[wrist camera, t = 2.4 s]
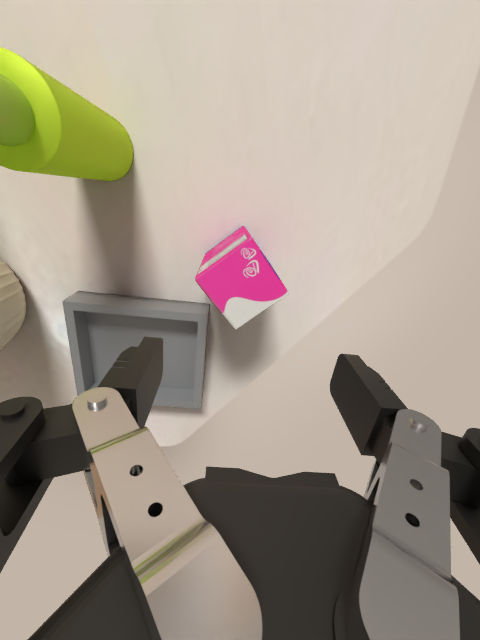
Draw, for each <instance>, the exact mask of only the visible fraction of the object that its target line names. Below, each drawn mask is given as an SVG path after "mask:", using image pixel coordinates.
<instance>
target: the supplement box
mask: <svg viewBox="0 0 480 640" xmlns="http://www.w3.org/2000/svg"><path fill="white" fill-rule="evenodd" d="M195 280H196V282H197V283H198V285H199V286H200V287H201V288H202V290H203V291H204V292H205V294H206V295H207V296H208V297H209V299H210V300H211V301H212V302H213V303H214V305H215V306H216V307H217V308H218V310H219V311H220V312H221V313H222V314H223V316H224V317H225V318H226V319H227V321H228V322H229V323H230V324H231V325H232V327H233V328H234V329H235V330H236V329H238V328H239V327H241V326H242V325H244V324H245V323H247V322H248V321H249V320H251V319H252V318H254V317H255V316H257V315H258V314H260V313H261V312H263V311H264V310H266V309H267V308H268V307H270V306H271V305H273V304H275V303H276V302H278V301H279V300H281V299H282V298H284V297H285V296H287V295H288V294H289V293H288V291H287V289H286V288H285V286H284V285H283V283H282V281H281V280H280V278H279V277H278V275H277V274H276V272H275V271H274V269H273V267H272V266H271V264H270V263H269V262H268V260H267V259H266V257H265V256H264V254H263V253H262V251H261V250H260V248H259V247H258V245H257V244H256V243H255V241H254V240H253V238H252V237H251V236H250V234H249V233H248V231H247V230H246V228H245V227H244V226H242V227H241V228H239V229H238V230H237V231H235V232H234V233H233V234H231V235H230V236H228V237H227V238H226V239H224V240H223V241H222V242H220V243H219V244H218V245H216V246H215V247H214V248H212V249H211V250H210V251H208V252H207V253H206V254H205V256H204V259H203V261H202V263H201V266H200V268H199V271H198V273H197V275H196V277H195Z"/></svg>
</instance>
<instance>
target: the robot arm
mask: <svg viewBox="0 0 480 640" xmlns="http://www.w3.org/2000/svg"><path fill="white" fill-rule="evenodd" d="M162 375H163V338H159V337H148V336H145V337H144V338H143V340H142V341H141V343H140V345H139V346H138V347H133V346H131V347H129V348H127V349H126V350H124V351H123V352H121V354H120V355H119V357H118V358H117V359H116V361H115V362H114V364H113V365H112V367H111V368H110V369H109V371H108V372H107V374H106V375H105V377H104V378H103V380H102V381H101V382H100V384H99V385H98V387H97V388H94V389H90V390H88V391H85V392H83V393H82V394H80V395H79V396H78V397H77V398H76V399H75V400H74V402H73V404H70V405H66V406H59V407H52V408H46V409H43V406H42V403H41V401H40V400H39V399H37V398H34V397H18V398H13V399H10V400H7V401H4V402H2V403H0V573H1V571H2V569H3V567H4V565H5V564H6V562H7V560H8V558H9V556H10V555H11V553H12V551H13V549H14V547H15V546H16V544H17V542H18V540H19V538H20V537H21V535H22V533H23V531H24V530H25V528H26V526H27V524H28V522H29V521H30V519H31V517H32V515H33V513H34V511H35V510H36V508H37V506H38V504H39V502H40V501H41V499H42V497H43V495H44V494H45V492H46V490H47V488H48V486H49V485H50V483H51V481H52V479H53V478H54V477H57V476H62V475H66V474H70V473H75V472H79V471H84V475H85V478H86V481H87V484H88V488H89V491H90V494H91V497H92V500H93V504H94V507H95V510H96V513H97V516H98V520H99V524H100V528H101V532H102V537H103V541H104V544H105V548H106V551H107V554H108V558H107V559H106V560H105V561H104V562H103V563H102V564H101V565H100V566H99V567H98V568H97V569H96V570H95V571H94V572H93V573H92V574H91V575H90V577H88V578H87V580H85V582H83V583H82V585H81V586H80V587H79V588H78V589H77V590H76V591H75V592H74V593H73V594H72V595H71V596H70V597H69V598H68V599H67V600H66V601H65V602H64V603H63V604H62V605H61V606H60V607H59V608H58V609H57V610H56V611H55V612H54V613H53V614H52V615H51V616H50V617H49V618H48V619H47V620H46V622H44V623H43V625H42V626H41V627H40V628H39V629H38V630H37V631H36V632H35V633H34V634H33V635H32V636H31V637H30V638H29V639H28V640H480V601H479V600H478V599H477V598H476V597H475V596H474V595H473V594H472V593H471V592H469V591H468V590H467V589H466V588H465V587H464V586H463V585H461V583H460V582H458V581H457V580H456V579H455V578H454V577H453V576H452V575H451V558H450V557H451V554H450V553H451V551H450V518H451V519H452V521H453V522H454V524H455V526H456V527H457V529H458V530H459V532H460V534H461V535H462V537H463V538H464V540H465V541H466V543H467V545H468V546H469V548H470V549H471V551H472V553H473V554H474V556H475V557H476V559H477V561H478V562H479V564H480V429H477V428H470V429H468V430H467V431H466V432H465V434H464V436H463V437H462V438H461V437H458V436H454V435H451V434H447V433H444V432H441V430H440V428H439V426H438V425H437V424H436V423H435V422H434V421H433V420H432V419H430V418H429V417H427V416H426V415H424V414H422V413H420V412H417V411H414V410H410V409H408V408H406V406H405V405H404V404H403V403H402V401H401V400H400V399H399V398H398V396H397V395H396V394H395V393H394V392H393V390H391V388H390V387H389V386H388V384H387V383H385V381H384V379H383V378H382V377H381V376H380V375H379V374H378V373H377V372H376V371H374V370H373V369H371V368H370V367H367V365H366V364H365V363H364V362H363V360H362V359H361V358H360V357H359V356H358V355H351V354H340V355H339V357H338V359H337V362H336V366H335V369H334V372H333V375H332V379H331V382H330V392H331V395H332V397H333V399H334V401H335V403H336V405H337V407H338V409H339V411H340V413H341V415H342V417H343V419H344V421H345V423H346V425H347V427H348V429H349V431H350V433H351V435H352V437H353V439H354V441H355V443H356V445H357V447H358V449H359V451H360V453H361V455H368V456H375V458H376V461H375V463H374V465H373V468H372V471H371V475H370V478H369V481H368V484H367V488H366V491H365V494H364V497H362V496H361V495H359V494H357V493H356V492H354V491H352V490H350V489H347V488H345V487H343V486H339V484H338V481H337V479H336V476H335V474H334V473H333V474H332V473H314V472H301V473H297V474H292V475H287V476H282V477H278V478H269V477H266V476H263V475H259V474H255V473H252V472H249V471H246V470H242V469H239V468H220V467H206V476H205V478H202V479H198V480H195V481H192V482H190V483H187V484H185V485H182V483H181V481H180V480H179V478H178V476H177V475H176V473H175V471H174V470H173V468H172V467H171V465H170V463H169V462H168V460H167V458H166V457H165V455H164V454H163V452H162V450H161V449H160V447H159V445H158V444H157V442H156V440H155V439H154V437H153V435H152V434H151V432H150V431H149V429H148V428H147V427H144V426H145V423H146V420H147V418H148V415H149V412H150V410H151V407H152V404H153V402H154V399H155V396H156V394H157V391H158V388H159V386H160V383H161V380H162Z"/></svg>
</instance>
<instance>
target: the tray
mask: <svg viewBox="0 0 480 640" xmlns="http://www.w3.org/2000/svg"><path fill="white" fill-rule="evenodd" d="M63 307H64V314H65V320H66V326H67V333H68V339H69V345H70V351H71V358H72V364H73V370H74V377H75V383H76V389H77V396H79V395H80V394H82V393H83V392H85V391H88V390H90V389H94V388H97V387H98V385H99V384H100V382H101V381H102V380H103V378H104V377H105V375H106V374H107V372H108V371H109V369H110V368H111V367H112V365H113V364H114V362H115V361H116V359H117V358H118V357H119V355H120V354H121V352H123V351H124V350H126V349H127V348H129V347H131V346H133V347H138V346H139V345H140V343H141V341H142V340H143V338H144V337H145V336H148V337H159V338H163V375H162V380H161V383H160V386H159V388H158V391H157V394H156V396H155V399H154V402H153V404H152V406H166V407H181V408H195V409H200V408H201V401H202V394H203V382H204V369H205V356H206V342H207V329H208V316H209V304H206V303H196V302H186V301H175V300H165V299H155V298H145V297H134V296H124V295H114V294H103V293H93V292H83V291H78V292H76V293H75V294H73V295H71V296H70V297H68V298H67V299H65V300H64V301H63Z"/></svg>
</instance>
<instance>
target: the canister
mask: <svg viewBox="0 0 480 640" xmlns="http://www.w3.org/2000/svg"><path fill="white" fill-rule="evenodd" d="M25 307H26V301H25V294H24V293H23V287H22V286H21V285H20V283H19V279H17V278H16V276H15V275H14V272H13V271H12V270H11V269H10V268H9V267H8V265H7V264H6V263H4V262H3V261H2V260H1V259H0V350H1V349H2V348H3V347H4V346H5V345H6V344H7V343H8V342H9V341H10V340H11V339H12V338H13V337H14V336H15V334H16V333H17V332H18V331H19V330H20V328H21V325H22V323H23V321H24V319H25V314H26V308H25Z"/></svg>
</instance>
